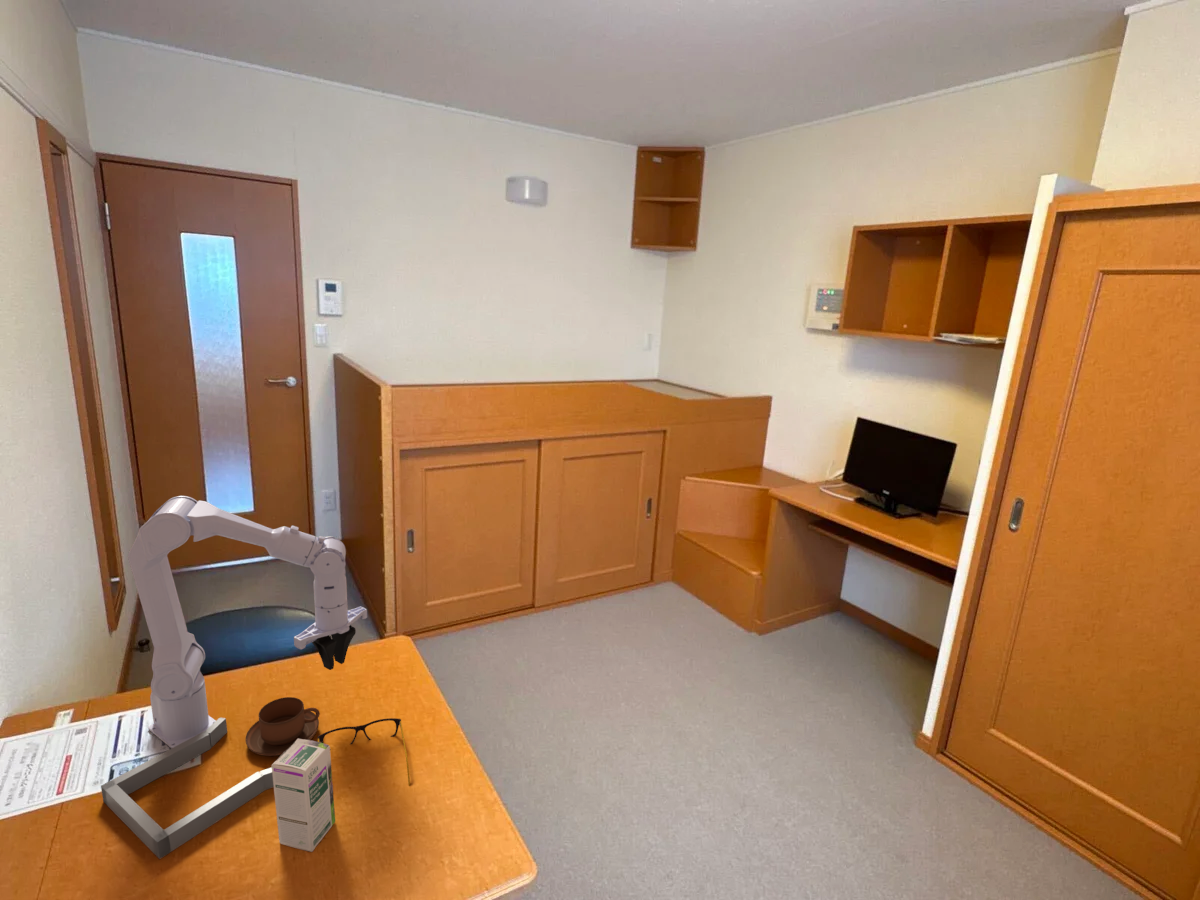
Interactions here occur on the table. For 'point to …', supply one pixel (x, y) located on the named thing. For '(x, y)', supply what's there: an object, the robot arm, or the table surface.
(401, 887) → the table surface
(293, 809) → the syrup box
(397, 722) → the eyeglasses
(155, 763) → the bent grey bar frame
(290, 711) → the cup and saucer
